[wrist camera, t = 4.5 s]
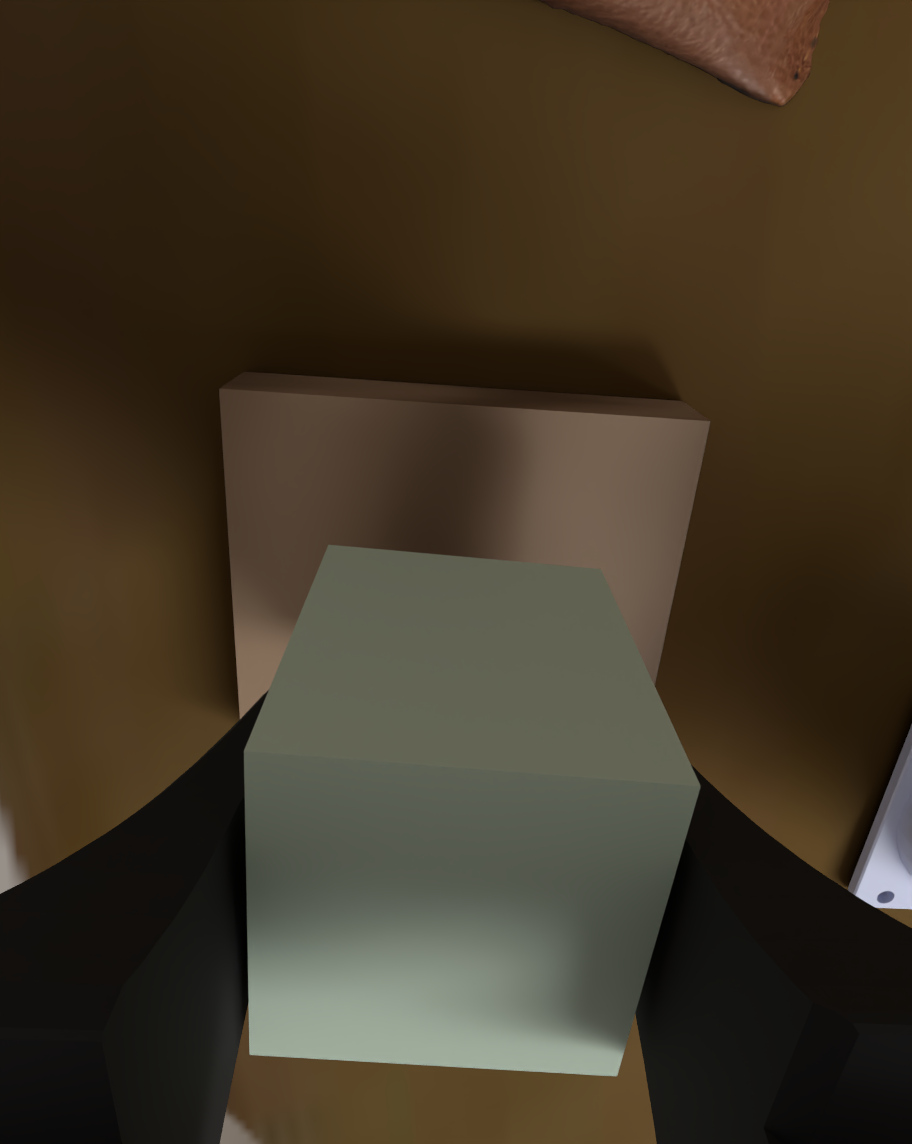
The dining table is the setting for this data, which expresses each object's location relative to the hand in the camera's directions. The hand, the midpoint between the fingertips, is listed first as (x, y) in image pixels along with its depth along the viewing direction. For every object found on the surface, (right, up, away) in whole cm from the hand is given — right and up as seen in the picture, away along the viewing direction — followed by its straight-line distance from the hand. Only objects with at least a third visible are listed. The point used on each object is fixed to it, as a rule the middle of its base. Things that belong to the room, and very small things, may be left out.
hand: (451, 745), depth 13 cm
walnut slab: (0, +3, +6) cm, 6 cm away
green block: (0, +1, +2) cm, 2 cm away
